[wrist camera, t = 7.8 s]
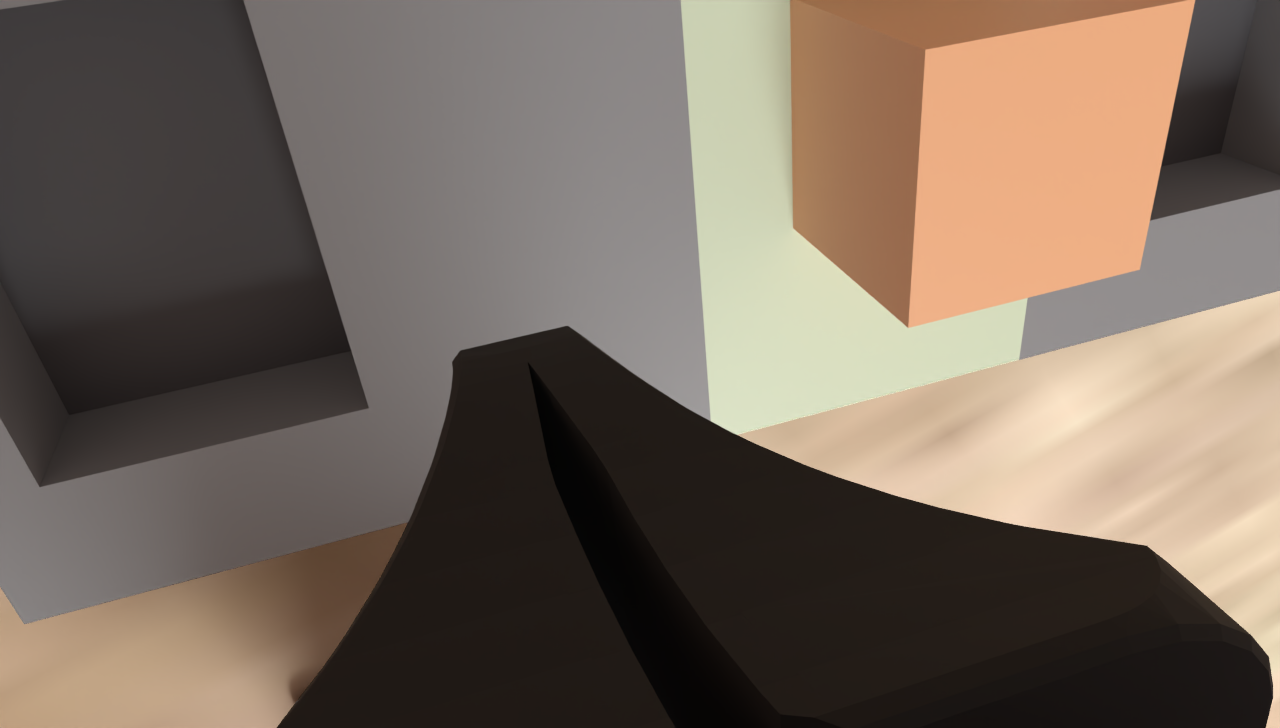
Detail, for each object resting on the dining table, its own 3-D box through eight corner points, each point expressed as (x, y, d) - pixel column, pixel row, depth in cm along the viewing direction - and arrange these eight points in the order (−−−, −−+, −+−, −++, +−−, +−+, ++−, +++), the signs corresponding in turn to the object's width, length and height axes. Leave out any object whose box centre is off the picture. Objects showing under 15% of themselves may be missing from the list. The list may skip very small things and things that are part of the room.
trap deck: (1225, 238, 27) (1317, 280, 25) (58, 528, 21) (24, 624, 18) (1382, -371, 20) (1535, -398, 17) (-355, -197, 14) (-505, -198, 11)
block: (987, 185, 20) (1140, 269, 16) (792, 228, 19) (908, 328, 15) (1009, -40, 18) (1195, -2, 14) (790, -3, 17) (925, 50, 13)
